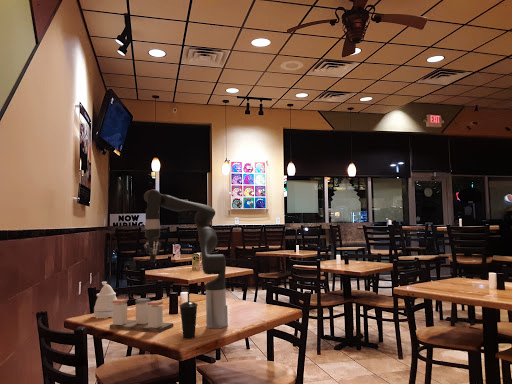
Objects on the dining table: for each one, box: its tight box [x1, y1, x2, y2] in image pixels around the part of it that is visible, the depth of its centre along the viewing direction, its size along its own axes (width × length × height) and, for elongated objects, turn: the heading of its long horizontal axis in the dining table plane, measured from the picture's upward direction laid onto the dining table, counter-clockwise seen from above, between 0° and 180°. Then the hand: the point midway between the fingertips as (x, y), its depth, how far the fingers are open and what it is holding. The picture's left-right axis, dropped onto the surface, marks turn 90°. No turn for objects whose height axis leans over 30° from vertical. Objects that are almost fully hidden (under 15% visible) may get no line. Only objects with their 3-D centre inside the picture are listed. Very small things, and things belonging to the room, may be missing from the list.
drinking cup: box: [179, 289, 198, 340], centre depth 175 cm, size 8×8×20 cm
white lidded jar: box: [135, 297, 151, 324], centre depth 195 cm, size 5×4×11 cm
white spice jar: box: [112, 298, 128, 325], centre depth 195 cm, size 5×4×11 cm
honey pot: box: [93, 281, 118, 319], centre depth 222 cm, size 13×13×18 cm
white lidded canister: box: [147, 300, 164, 328], centre depth 188 cm, size 5×4×11 cm
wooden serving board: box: [109, 319, 174, 333], centre depth 194 cm, size 28×11×2 cm, turn 68°
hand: (152, 261), depth 211 cm, fingers closed
